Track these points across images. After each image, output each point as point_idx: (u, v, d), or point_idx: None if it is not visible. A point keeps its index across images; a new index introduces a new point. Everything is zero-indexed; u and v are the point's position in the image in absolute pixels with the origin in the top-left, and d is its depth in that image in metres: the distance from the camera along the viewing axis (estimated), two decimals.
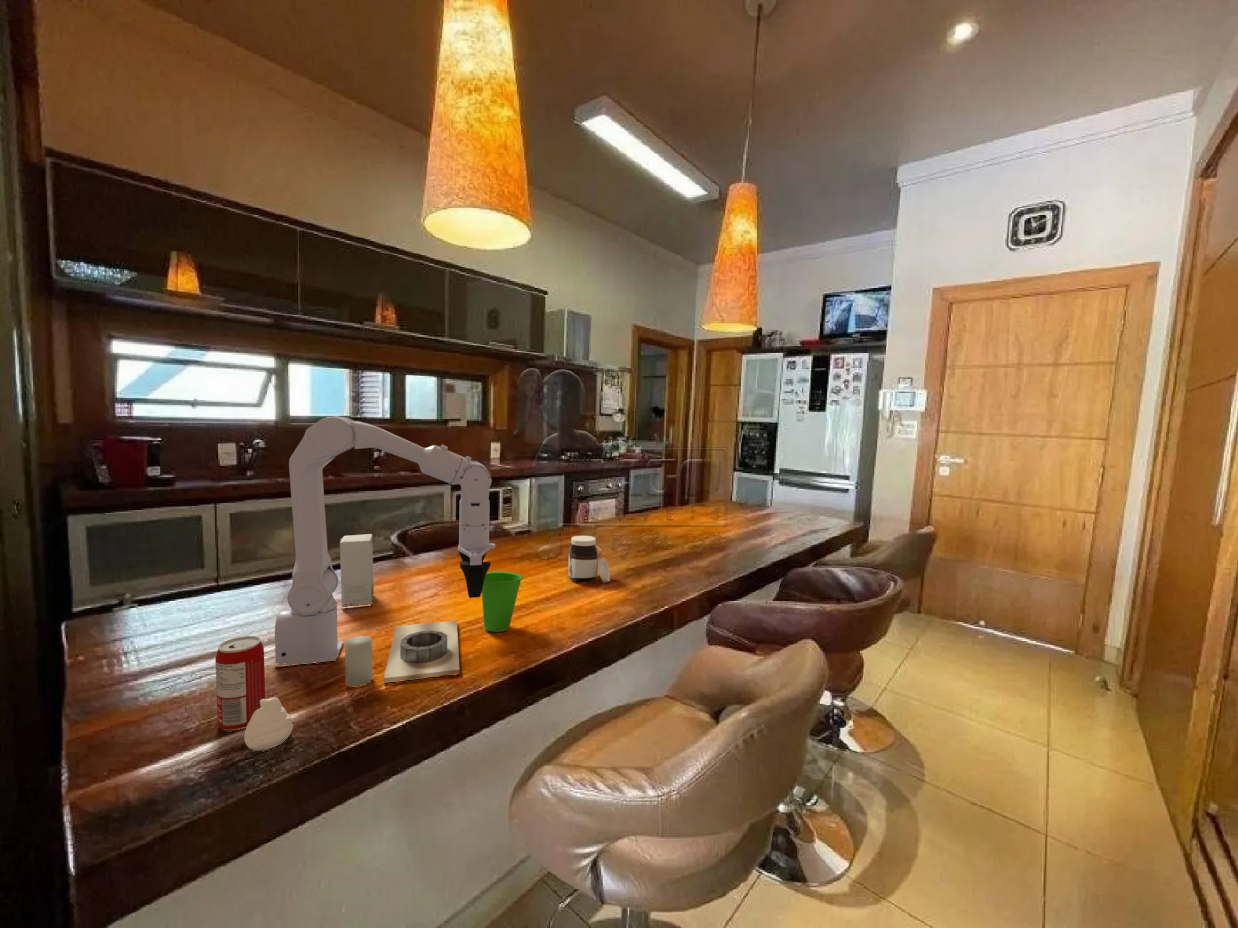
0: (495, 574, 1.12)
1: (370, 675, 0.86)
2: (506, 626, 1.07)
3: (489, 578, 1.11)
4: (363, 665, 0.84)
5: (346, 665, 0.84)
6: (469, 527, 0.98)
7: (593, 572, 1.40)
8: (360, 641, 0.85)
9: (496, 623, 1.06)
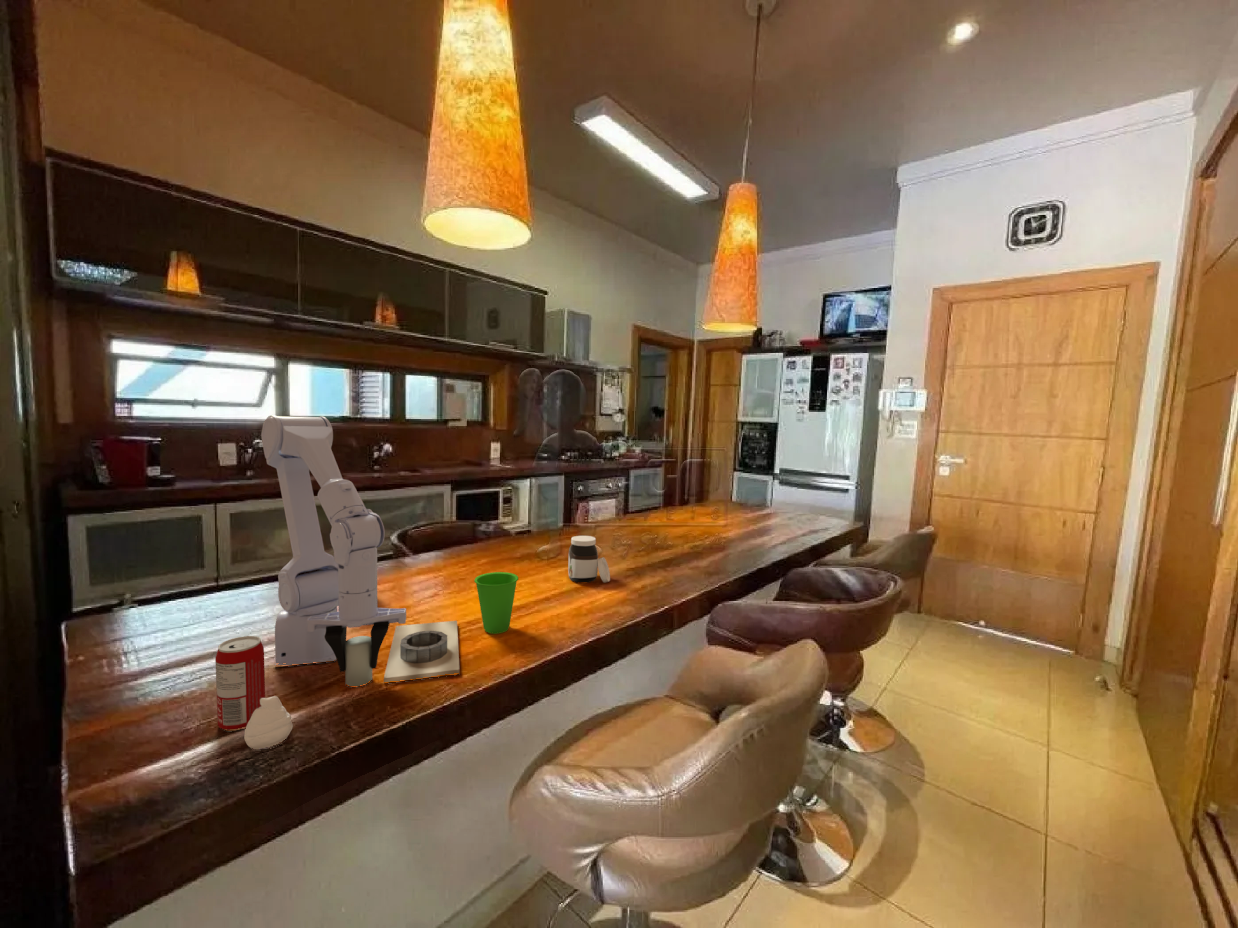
0: (490, 576, 1.11)
1: (370, 675, 0.86)
2: (506, 627, 1.07)
3: (485, 580, 1.10)
4: (363, 665, 0.84)
5: (346, 665, 0.84)
6: None
7: (593, 572, 1.40)
8: (360, 641, 0.85)
9: (495, 626, 1.06)
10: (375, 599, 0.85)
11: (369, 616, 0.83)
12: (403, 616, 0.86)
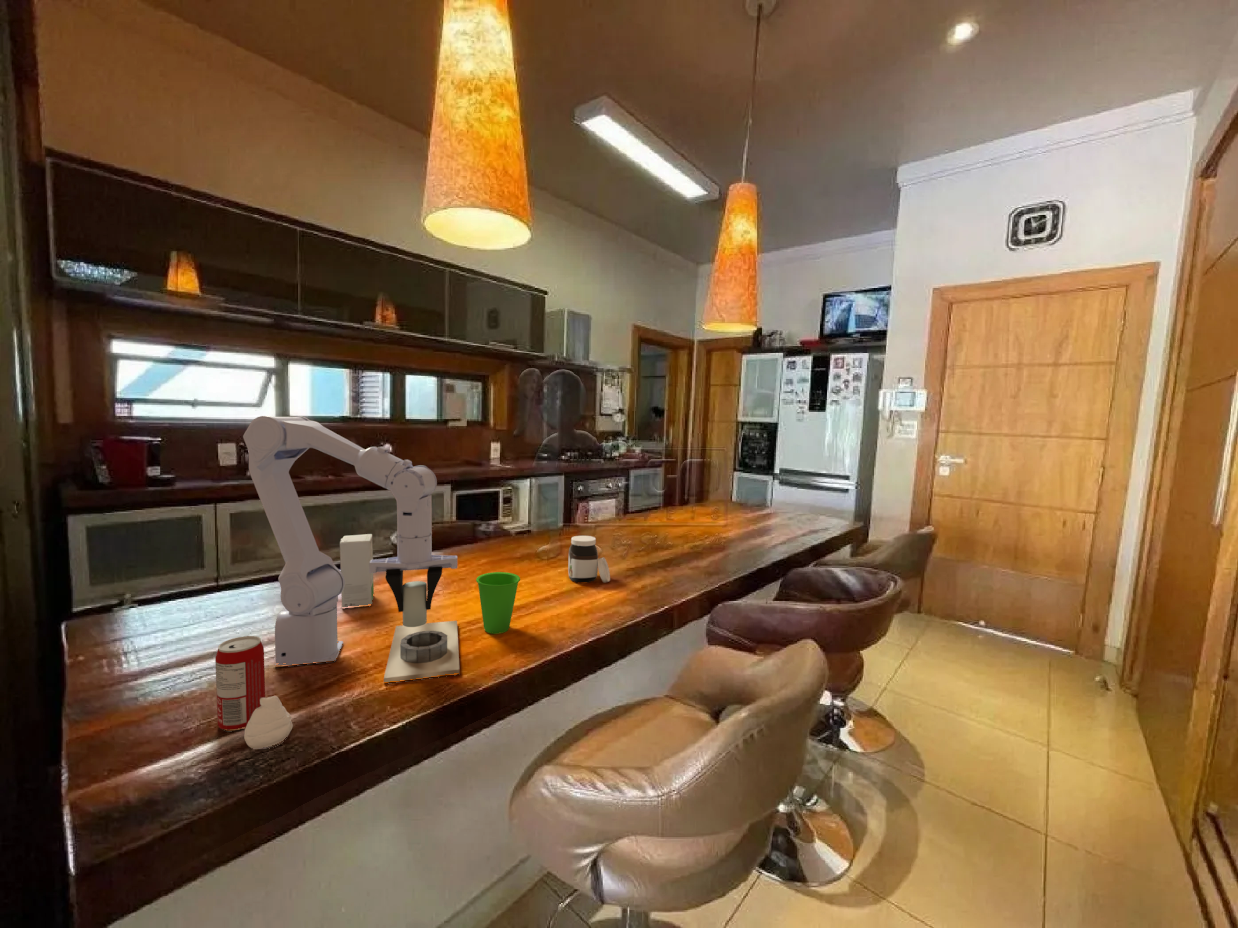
0: (491, 575, 1.11)
1: (425, 617, 0.92)
2: (506, 627, 1.07)
3: (486, 580, 1.10)
4: (418, 607, 0.90)
5: (403, 606, 0.91)
6: None
7: (593, 572, 1.40)
8: (416, 585, 0.91)
9: (496, 626, 1.06)
10: (430, 545, 0.91)
11: (425, 560, 0.90)
12: (455, 561, 0.93)
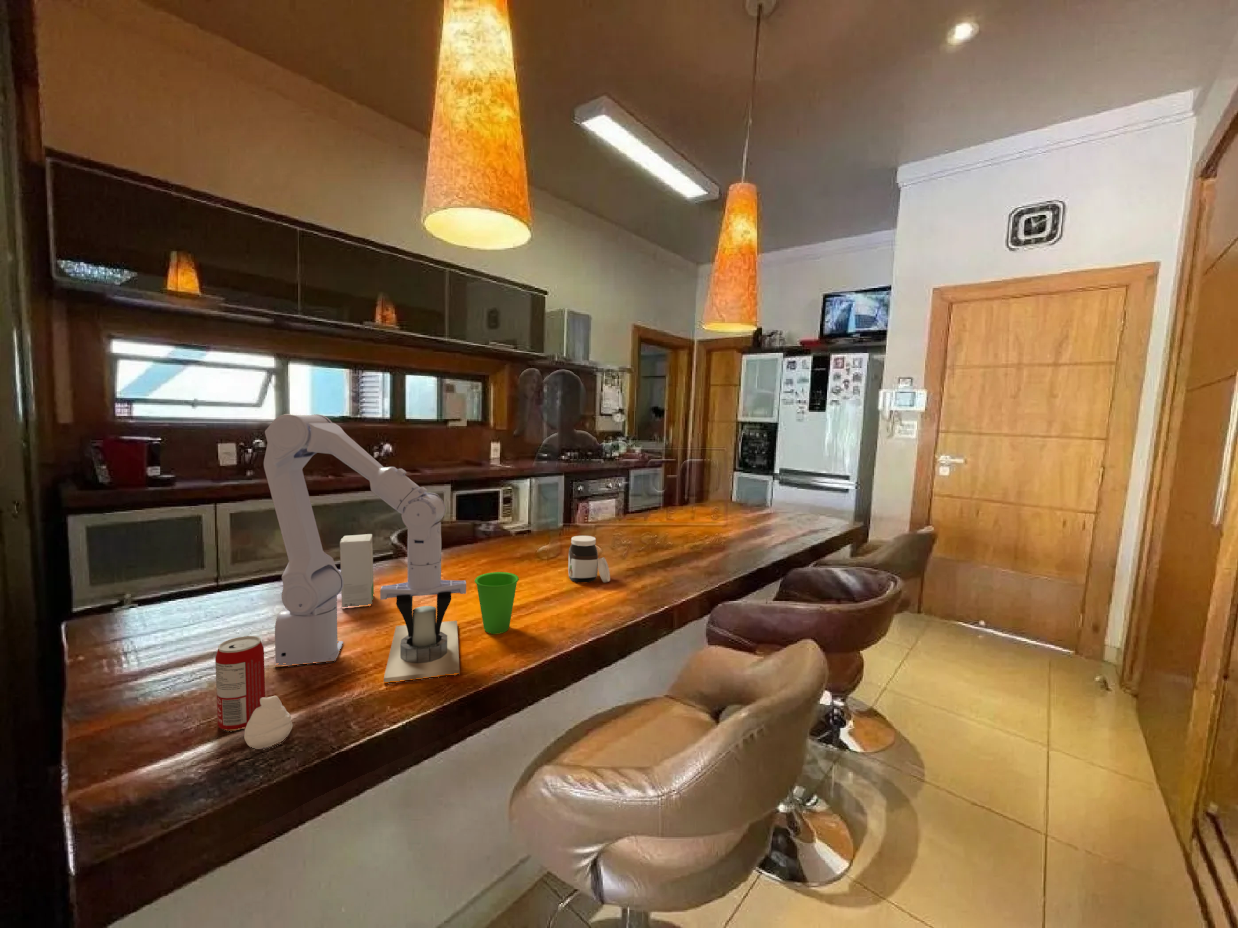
0: (490, 576, 1.11)
1: (434, 641, 0.94)
2: (506, 627, 1.07)
3: (484, 580, 1.10)
4: (428, 632, 0.92)
5: (413, 631, 0.93)
6: None
7: (593, 572, 1.40)
8: (426, 610, 0.93)
9: (496, 626, 1.06)
10: (440, 571, 0.93)
11: (435, 586, 0.92)
12: (464, 587, 0.95)
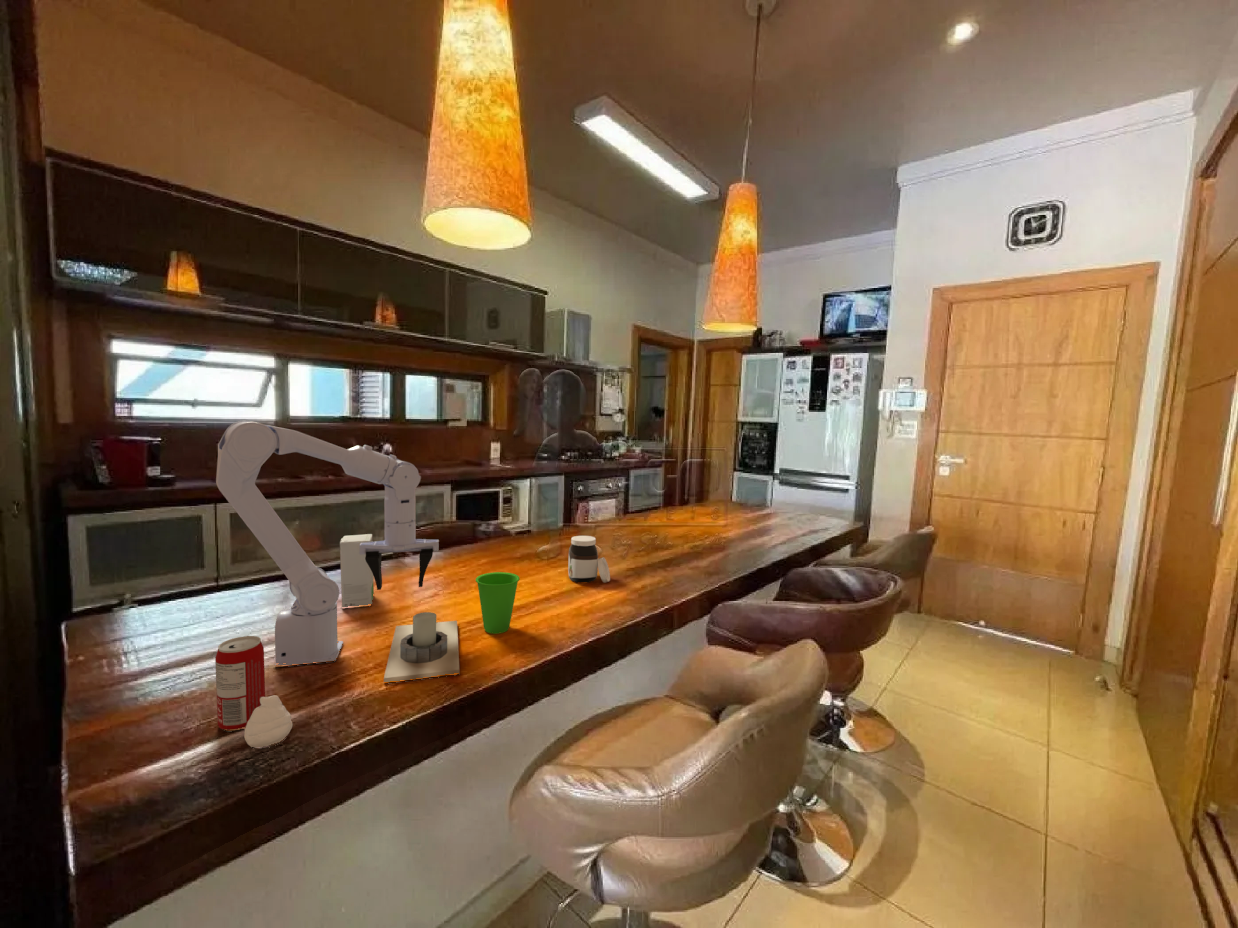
0: (490, 576, 1.11)
1: None
2: (506, 627, 1.07)
3: (485, 580, 1.10)
4: (428, 638, 0.93)
5: (414, 637, 0.93)
6: None
7: (593, 572, 1.40)
8: (426, 616, 0.94)
9: (497, 625, 1.06)
10: (414, 530, 1.02)
11: (409, 543, 1.01)
12: (437, 545, 1.04)
